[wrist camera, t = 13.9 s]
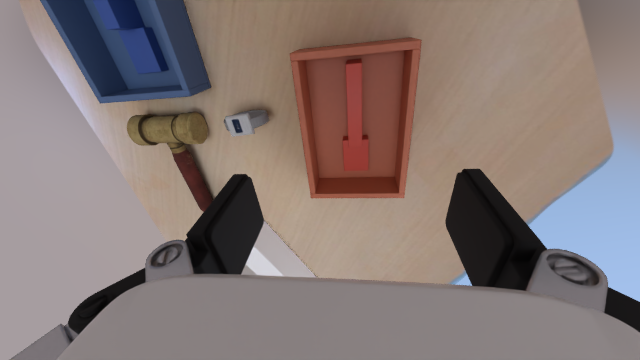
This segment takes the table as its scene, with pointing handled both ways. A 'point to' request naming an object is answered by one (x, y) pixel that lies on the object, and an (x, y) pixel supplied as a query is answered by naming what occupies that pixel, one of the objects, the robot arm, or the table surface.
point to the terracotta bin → (377, 115)
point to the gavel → (175, 144)
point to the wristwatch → (245, 122)
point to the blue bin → (114, 60)
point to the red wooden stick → (354, 120)
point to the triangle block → (274, 257)
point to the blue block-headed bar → (133, 34)
